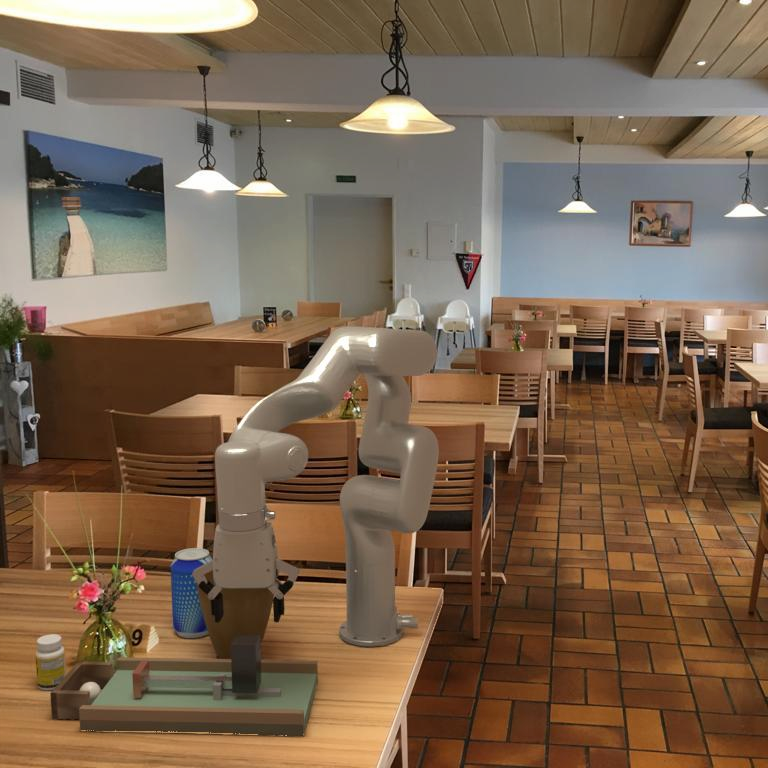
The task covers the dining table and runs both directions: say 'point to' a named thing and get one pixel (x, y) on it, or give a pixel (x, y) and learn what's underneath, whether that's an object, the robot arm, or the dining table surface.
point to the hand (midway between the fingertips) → (248, 618)
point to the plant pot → (236, 615)
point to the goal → (78, 688)
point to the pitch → (206, 699)
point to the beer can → (187, 593)
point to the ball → (91, 690)
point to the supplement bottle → (50, 661)
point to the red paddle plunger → (242, 679)
